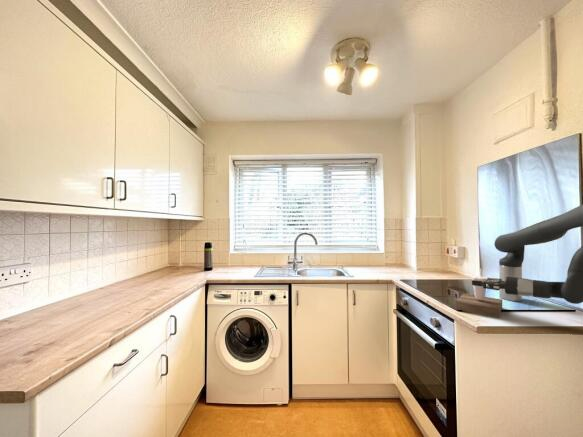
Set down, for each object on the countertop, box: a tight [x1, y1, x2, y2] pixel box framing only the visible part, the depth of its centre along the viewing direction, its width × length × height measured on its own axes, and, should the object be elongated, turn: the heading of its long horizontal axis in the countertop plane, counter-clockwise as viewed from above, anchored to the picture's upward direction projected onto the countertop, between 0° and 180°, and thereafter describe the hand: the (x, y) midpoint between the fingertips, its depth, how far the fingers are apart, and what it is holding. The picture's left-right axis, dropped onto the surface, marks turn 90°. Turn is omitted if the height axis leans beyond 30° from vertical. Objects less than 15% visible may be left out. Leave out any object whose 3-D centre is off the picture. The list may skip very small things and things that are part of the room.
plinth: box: [455, 293, 503, 319], centre depth 130 cm, size 16×16×4 cm
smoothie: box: [470, 267, 489, 299], centre depth 130 cm, size 6×6×14 cm
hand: (473, 281), depth 132 cm, fingers closed on smoothie, 6 cm apart
